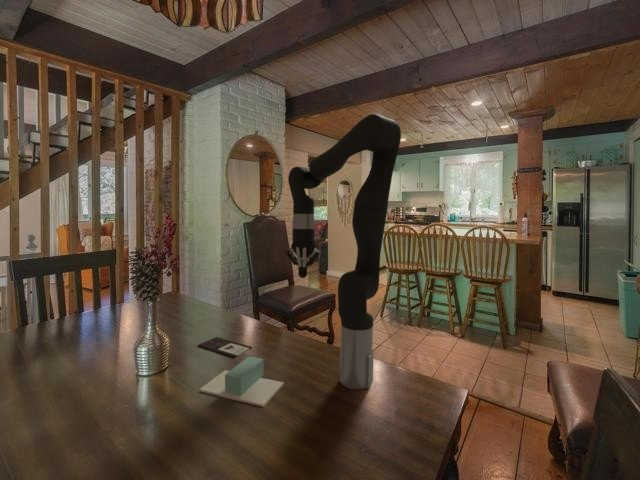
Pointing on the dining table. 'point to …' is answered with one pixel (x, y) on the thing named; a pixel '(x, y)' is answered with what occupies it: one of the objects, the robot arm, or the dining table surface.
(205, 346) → the chocolate bar
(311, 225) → the robot arm
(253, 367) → the teal block
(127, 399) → the dining table surface
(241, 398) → the cream mat
